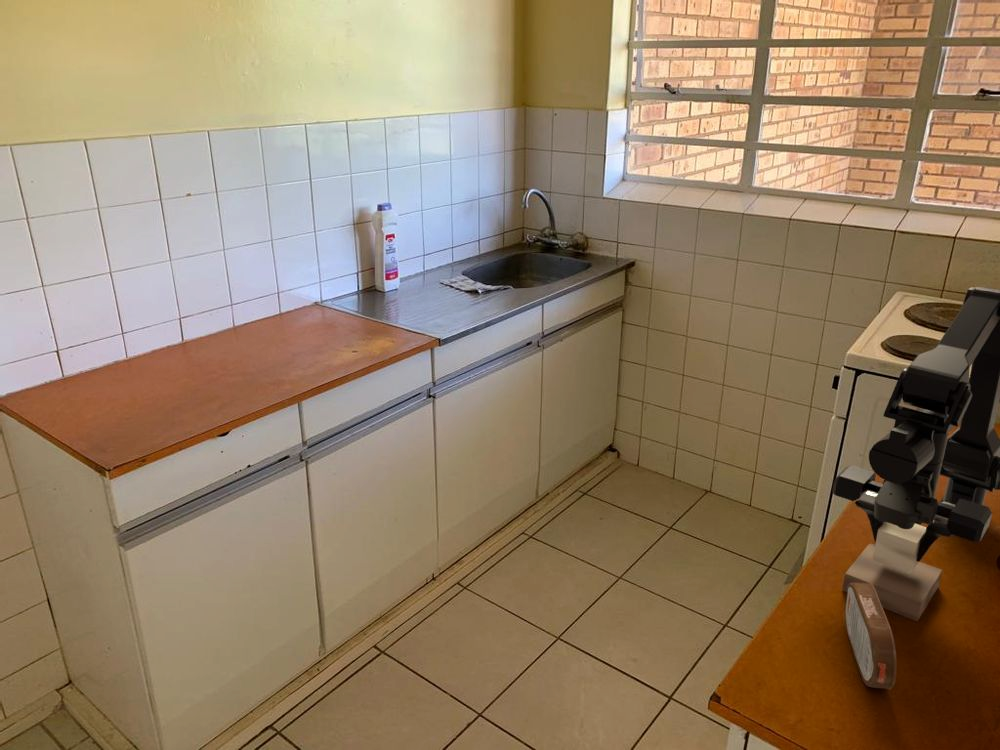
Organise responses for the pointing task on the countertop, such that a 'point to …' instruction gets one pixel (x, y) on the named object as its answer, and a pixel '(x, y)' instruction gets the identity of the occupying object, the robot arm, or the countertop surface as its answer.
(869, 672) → the tin
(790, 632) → the countertop surface
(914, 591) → the base
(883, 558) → the block
